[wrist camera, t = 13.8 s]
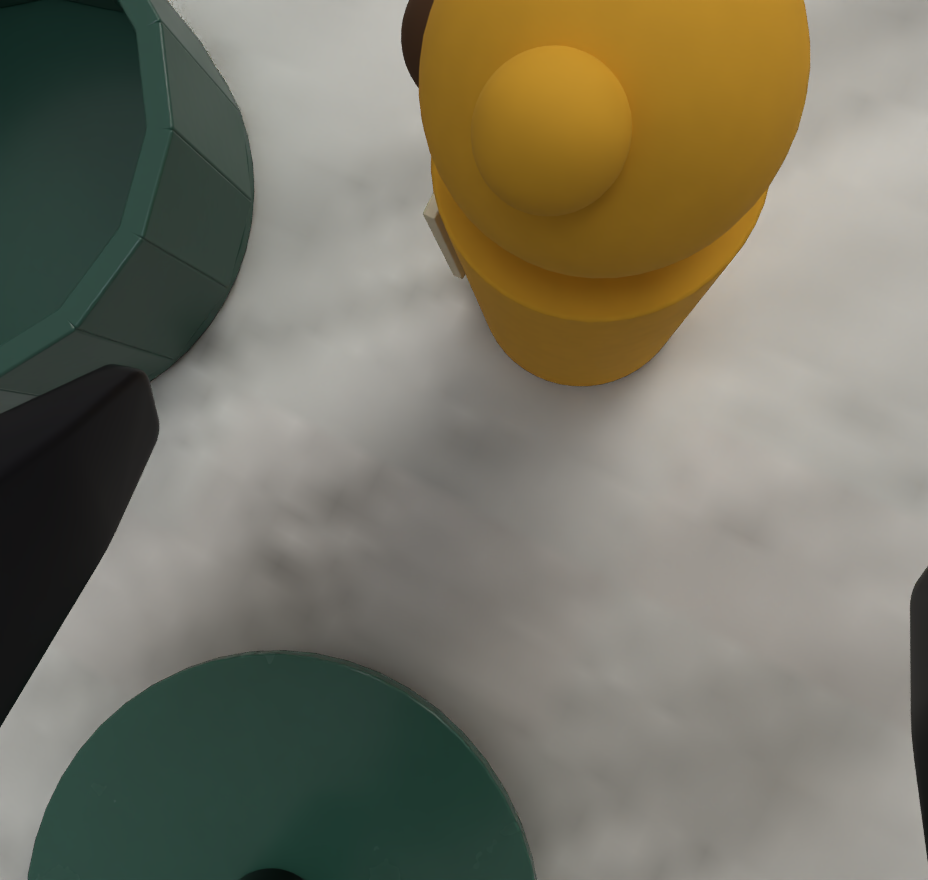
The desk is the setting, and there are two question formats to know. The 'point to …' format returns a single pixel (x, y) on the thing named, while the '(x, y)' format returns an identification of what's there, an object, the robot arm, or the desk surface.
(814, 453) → the desk surface
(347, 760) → the pot lid
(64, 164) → the pot
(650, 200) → the toy
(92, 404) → the robot arm
